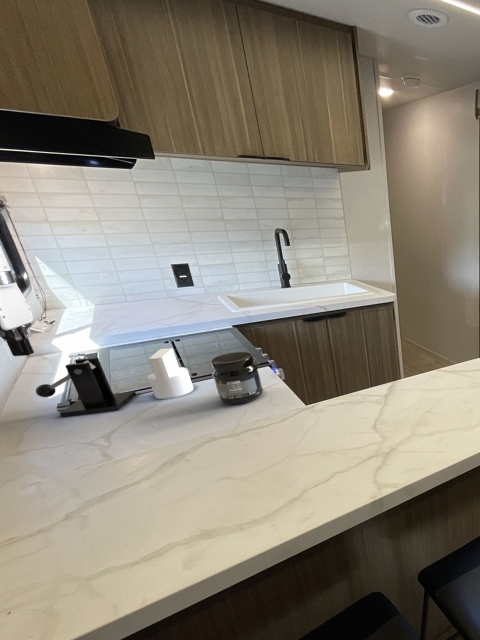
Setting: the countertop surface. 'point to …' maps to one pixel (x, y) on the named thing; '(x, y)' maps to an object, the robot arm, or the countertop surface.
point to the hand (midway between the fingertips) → (24, 354)
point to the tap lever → (54, 385)
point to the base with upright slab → (168, 375)
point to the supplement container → (236, 378)
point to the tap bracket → (93, 390)
